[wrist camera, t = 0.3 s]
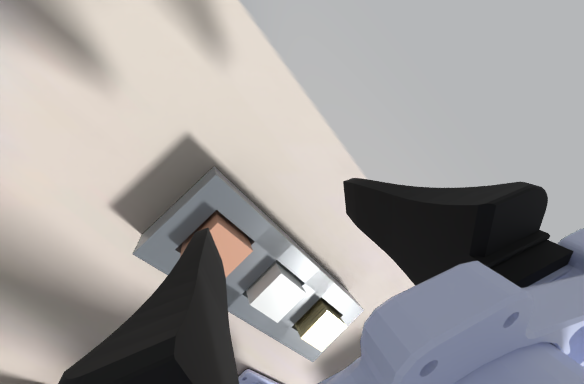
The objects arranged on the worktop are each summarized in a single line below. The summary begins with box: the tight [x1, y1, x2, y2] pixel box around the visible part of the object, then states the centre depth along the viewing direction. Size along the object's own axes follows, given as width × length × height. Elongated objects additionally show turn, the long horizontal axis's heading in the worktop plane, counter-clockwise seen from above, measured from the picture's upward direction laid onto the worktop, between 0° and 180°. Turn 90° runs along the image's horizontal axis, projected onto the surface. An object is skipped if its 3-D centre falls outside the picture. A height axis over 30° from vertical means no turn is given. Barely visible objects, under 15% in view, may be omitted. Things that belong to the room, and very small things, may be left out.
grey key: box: [246, 260, 307, 323], centre depth 22 cm, size 4×4×3 cm
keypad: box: [133, 167, 364, 362], centre depth 23 cm, size 8×22×3 cm, turn 40°
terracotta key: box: [180, 210, 253, 277], centre depth 19 cm, size 4×4×3 cm
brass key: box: [295, 297, 346, 352], centre depth 25 cm, size 4×4×3 cm
